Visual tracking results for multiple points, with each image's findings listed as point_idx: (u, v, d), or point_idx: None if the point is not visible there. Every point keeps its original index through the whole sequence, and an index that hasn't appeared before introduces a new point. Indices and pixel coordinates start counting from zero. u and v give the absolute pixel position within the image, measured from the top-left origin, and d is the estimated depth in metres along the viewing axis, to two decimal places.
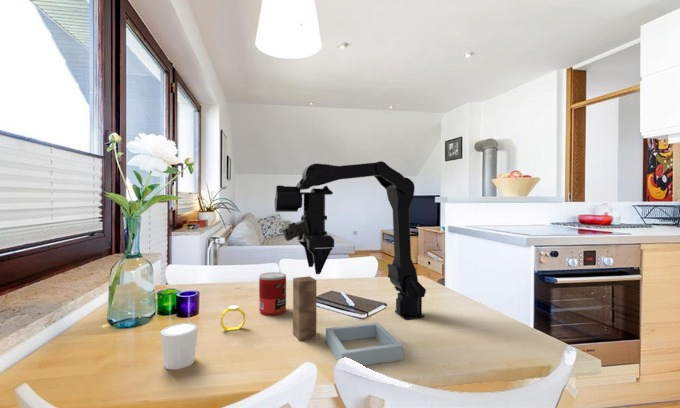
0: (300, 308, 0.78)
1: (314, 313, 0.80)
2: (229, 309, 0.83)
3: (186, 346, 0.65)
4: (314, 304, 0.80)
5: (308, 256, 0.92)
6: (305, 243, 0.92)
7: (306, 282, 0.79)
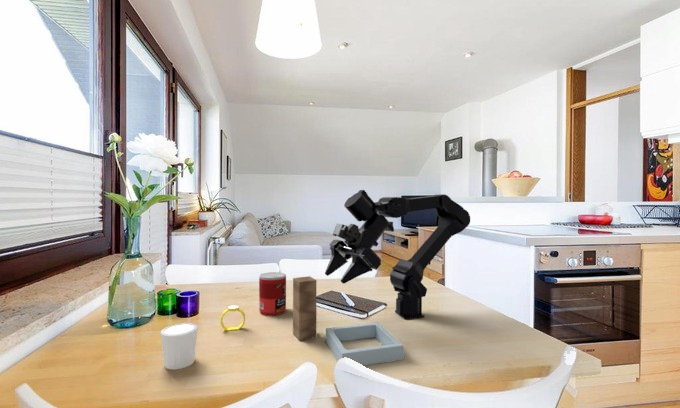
0: (300, 308, 0.78)
1: (314, 313, 0.80)
2: (229, 309, 0.83)
3: (186, 346, 0.65)
4: (314, 304, 0.79)
5: (331, 264, 0.89)
6: (337, 252, 0.90)
7: (306, 282, 0.78)
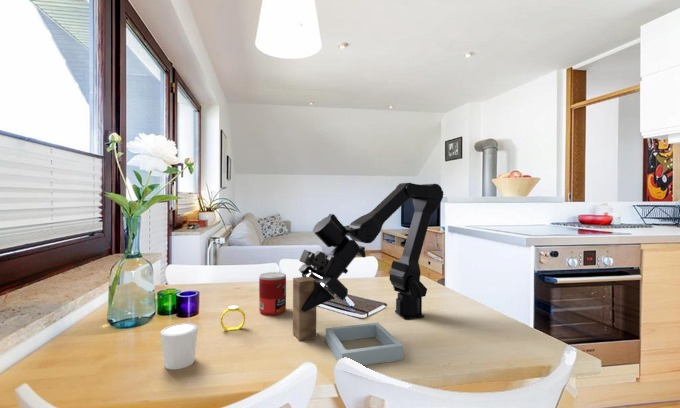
0: (300, 308, 0.78)
1: (314, 313, 0.80)
2: (229, 309, 0.83)
3: (186, 346, 0.65)
4: None
5: None
6: None
7: (306, 282, 0.78)
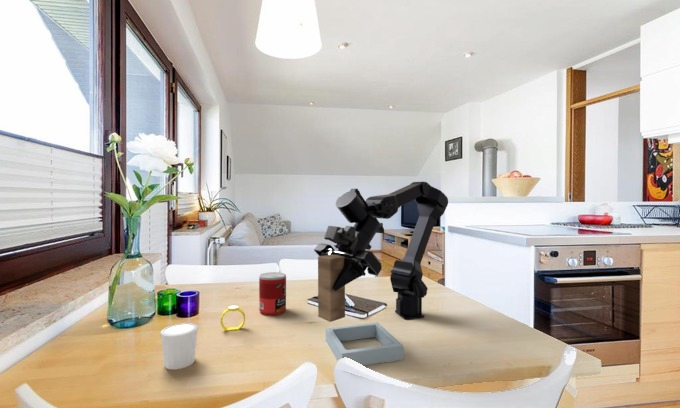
0: (331, 287, 0.73)
1: (343, 292, 0.75)
2: (229, 309, 0.83)
3: (186, 346, 0.65)
4: None
5: None
6: None
7: (336, 259, 0.74)
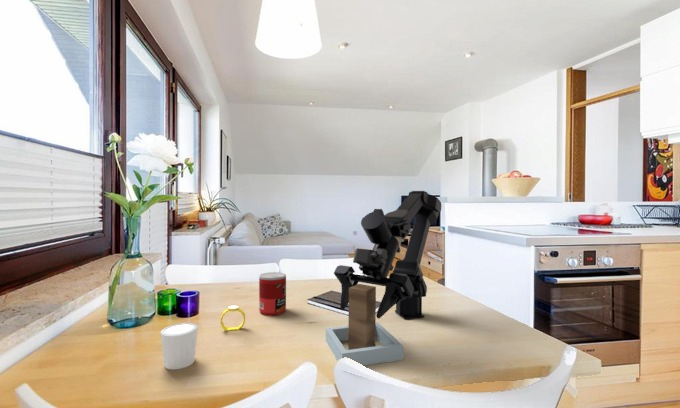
0: (366, 320, 0.70)
1: (374, 323, 0.73)
2: (229, 309, 0.83)
3: (186, 346, 0.65)
4: (374, 313, 0.73)
5: (345, 296, 0.76)
6: (348, 281, 0.78)
7: (370, 290, 0.72)
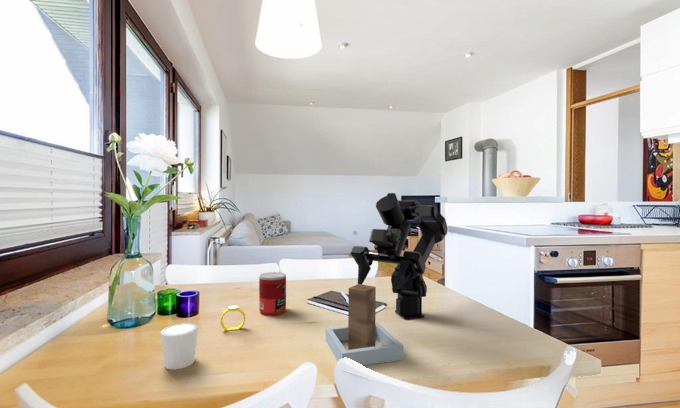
0: (366, 320, 0.70)
1: (374, 323, 0.73)
2: (229, 309, 0.83)
3: (186, 346, 0.65)
4: (374, 313, 0.73)
5: (362, 273, 0.82)
6: (364, 259, 0.84)
7: (370, 290, 0.72)
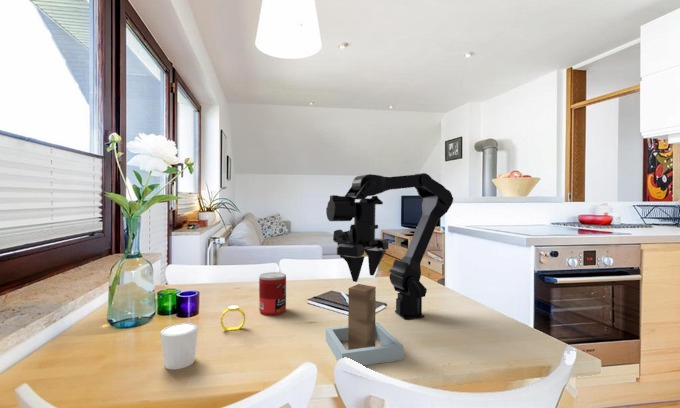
0: (366, 320, 0.70)
1: (374, 323, 0.73)
2: (229, 309, 0.83)
3: (186, 346, 0.65)
4: (374, 313, 0.73)
5: (369, 264, 0.94)
6: (368, 251, 0.94)
7: (370, 290, 0.72)
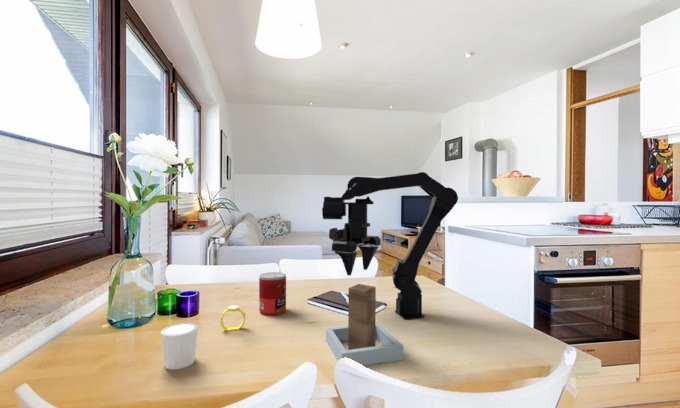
0: (366, 320, 0.70)
1: (374, 323, 0.73)
2: (229, 309, 0.83)
3: (186, 346, 0.65)
4: (374, 313, 0.73)
5: (363, 259, 1.01)
6: (362, 247, 1.02)
7: (370, 290, 0.72)
